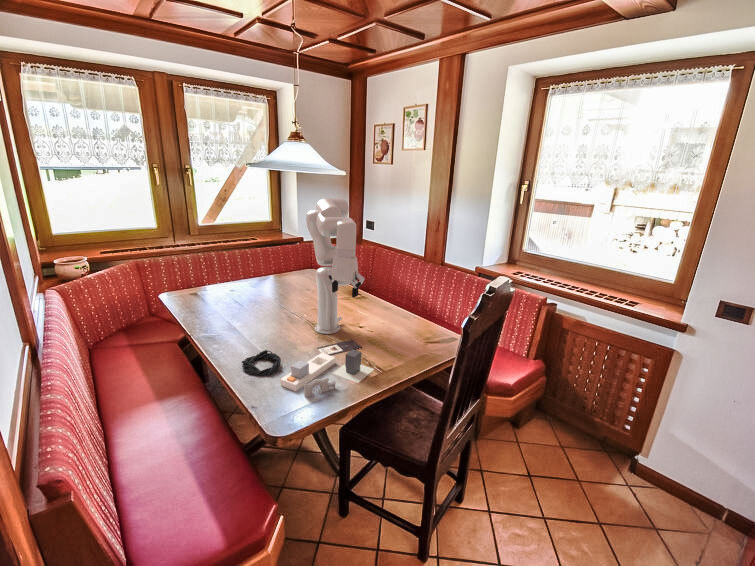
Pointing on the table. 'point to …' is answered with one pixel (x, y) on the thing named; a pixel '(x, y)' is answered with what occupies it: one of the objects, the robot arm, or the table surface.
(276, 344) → the table surface
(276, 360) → the cable
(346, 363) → the grey rectangular block
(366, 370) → the mat
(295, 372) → the grey plug
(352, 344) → the chocolate bar
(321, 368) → the long white plastic board
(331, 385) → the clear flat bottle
